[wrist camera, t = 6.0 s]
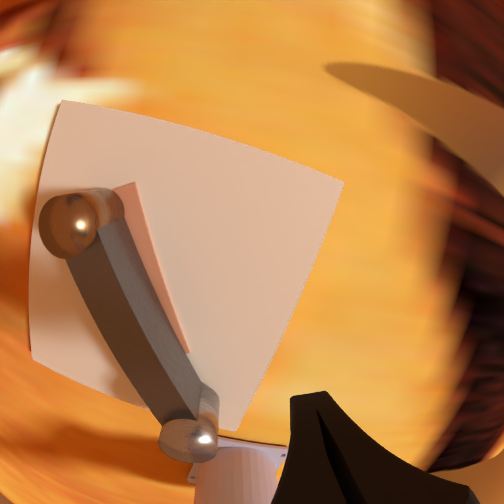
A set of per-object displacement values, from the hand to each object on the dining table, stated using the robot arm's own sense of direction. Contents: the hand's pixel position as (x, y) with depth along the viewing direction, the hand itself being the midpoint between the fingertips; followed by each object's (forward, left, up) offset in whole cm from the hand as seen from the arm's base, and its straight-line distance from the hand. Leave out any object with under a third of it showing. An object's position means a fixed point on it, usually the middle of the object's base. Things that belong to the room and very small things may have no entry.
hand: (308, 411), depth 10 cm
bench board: (-1, +8, -9) cm, 13 cm away
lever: (-3, +7, -8) cm, 11 cm away
